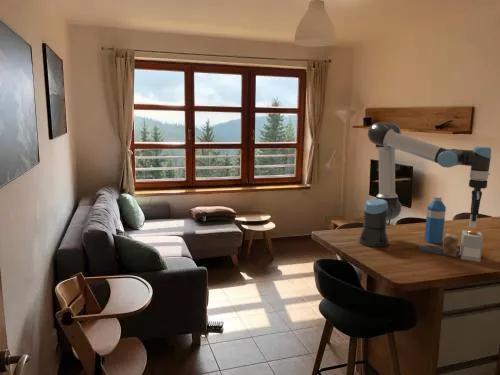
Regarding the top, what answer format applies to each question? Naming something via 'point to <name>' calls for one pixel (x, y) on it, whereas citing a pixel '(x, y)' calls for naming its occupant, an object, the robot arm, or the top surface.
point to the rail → (433, 249)
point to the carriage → (450, 245)
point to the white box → (471, 246)
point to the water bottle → (435, 221)
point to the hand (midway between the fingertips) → (472, 227)
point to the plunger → (472, 232)
